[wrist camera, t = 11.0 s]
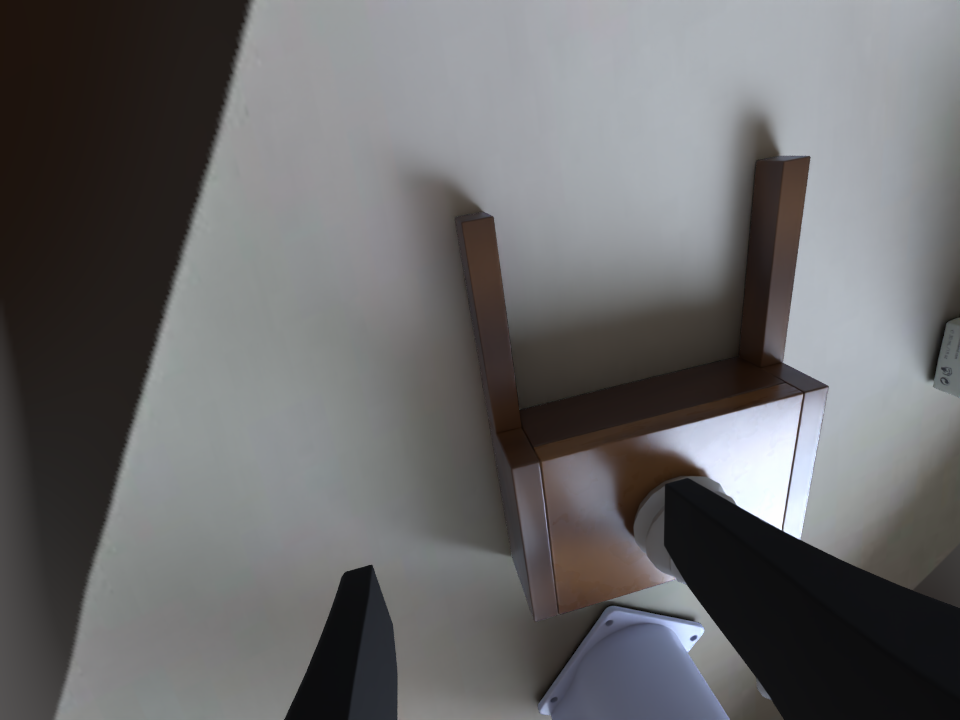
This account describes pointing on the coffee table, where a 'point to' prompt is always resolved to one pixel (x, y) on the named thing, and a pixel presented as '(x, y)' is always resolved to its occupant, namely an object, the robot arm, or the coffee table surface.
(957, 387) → the cosmetic box
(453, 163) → the coffee table surface
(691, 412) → the brown u-shaped piece
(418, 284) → the coffee table surface
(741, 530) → the robot arm
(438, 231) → the coffee table surface
